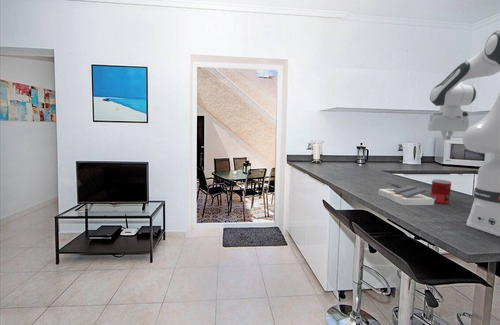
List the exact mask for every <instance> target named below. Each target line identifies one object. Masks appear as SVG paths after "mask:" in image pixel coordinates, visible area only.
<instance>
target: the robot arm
mask: <svg viewBox="0 0 500 325" xmlns="http://www.w3.org/2000/svg"><path fill="white" fill-rule="evenodd" d="M498 73H500V29H499V30H496V31H494V32H492V34H491V35H490V36H489V37H488V39H487V40H486V42H485V45H484V47H483V48H482V49H481V50H480V51H479V52H478V53H476V54H475V55H474V56H473V57H471V58H469V59H468V60H465V61H464V62H462V63H461V64H459V65H457V67H455V69H453V71H451V72H450V74H448V75H447V77H445V79H444V80H442V81H441V82H440V83H439V84H436V85H435V86H434V87H433V89H431V92H430V94H429V99H430V100H429V101H431V103H432V104H433V105H434V106H435V107H439V112H433V113H432V114H430V116H429V120H428V121H429V122H428V126H427V129H428V131H430V132H431V131H432V132H434V131H435V132H436V131H437V132H441V133H440V134H441V136H442V140H443V141H450V140H451V137H452V136H453V134H454V132H464V133H463V136H462V144H463V145H464V147H465V149H467V150H468V151H471V152H475V153H480V154H493V156H492V157H491V159H490V160H489V161H488V162H486V163H484V164H482V165H481V166H480V167H479V168H478V171H477V178H476V185H475V186H476V187H474V191H473V197H474V199H473V203H472V205H471V209H470V212H469V215H468V218H467V219H466V224H465V225H466V226H467V227H470V228H473V229H475V230H479V231H481V232H486V233H488V234H491V235H494V236H496V237H500V92H499V94H498V96H497V98H496V100H495V102H494V104H493V106H492V108H490V110H489V111H488V112H487V114H485V116H483V117H482V119H480V120H479V121H477V122H476V123H475V124H473V125H471V126H470V120H469V117H470V112H468V111H466V110H463V109H461V107H462V106H469V105H470V104H472V103H473V102H474V101H475V99H476V98H477V97H476V96H477V91H476V89H475V88H476V87H474V86H473V85H469V84H465V83H464V81H468V80H471V79H475V78H476V79H477V78H481V77H489V76H490V77H491V76H493V75H496V74H498Z"/></svg>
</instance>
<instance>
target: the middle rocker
mask: <svg viewBox="0 0 500 325" xmlns="http://www.w3.org/2000/svg"><path fill="white" fill-rule="evenodd" d="M400 187H401V188H393V189H394V190H393V192H395V193H398V194H400V193H404V192H407V191H410V190H414V189H417V186H415V185H411V184H410V185H407V186H400Z"/></svg>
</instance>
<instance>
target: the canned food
mask: <svg viewBox="0 0 500 325" xmlns="http://www.w3.org/2000/svg"><path fill="white" fill-rule="evenodd" d="M451 187H452V181H450V180H446V179H432V181H431V189H430V190H431V192H430V198H433V199H435V200H434V204H439V205H448V204H449V203H450V197H451Z"/></svg>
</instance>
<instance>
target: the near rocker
mask: <svg viewBox="0 0 500 325" xmlns="http://www.w3.org/2000/svg"><path fill="white" fill-rule="evenodd" d="M416 188H417V187H416ZM424 193H427V189H425V188H421V187H418V188H417V189H414V190H410V191H407V192H404V193H401V194H402V196H404V197H407V198H408V197H411V196H415V195H418V194H421V195H422V194H424Z"/></svg>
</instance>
